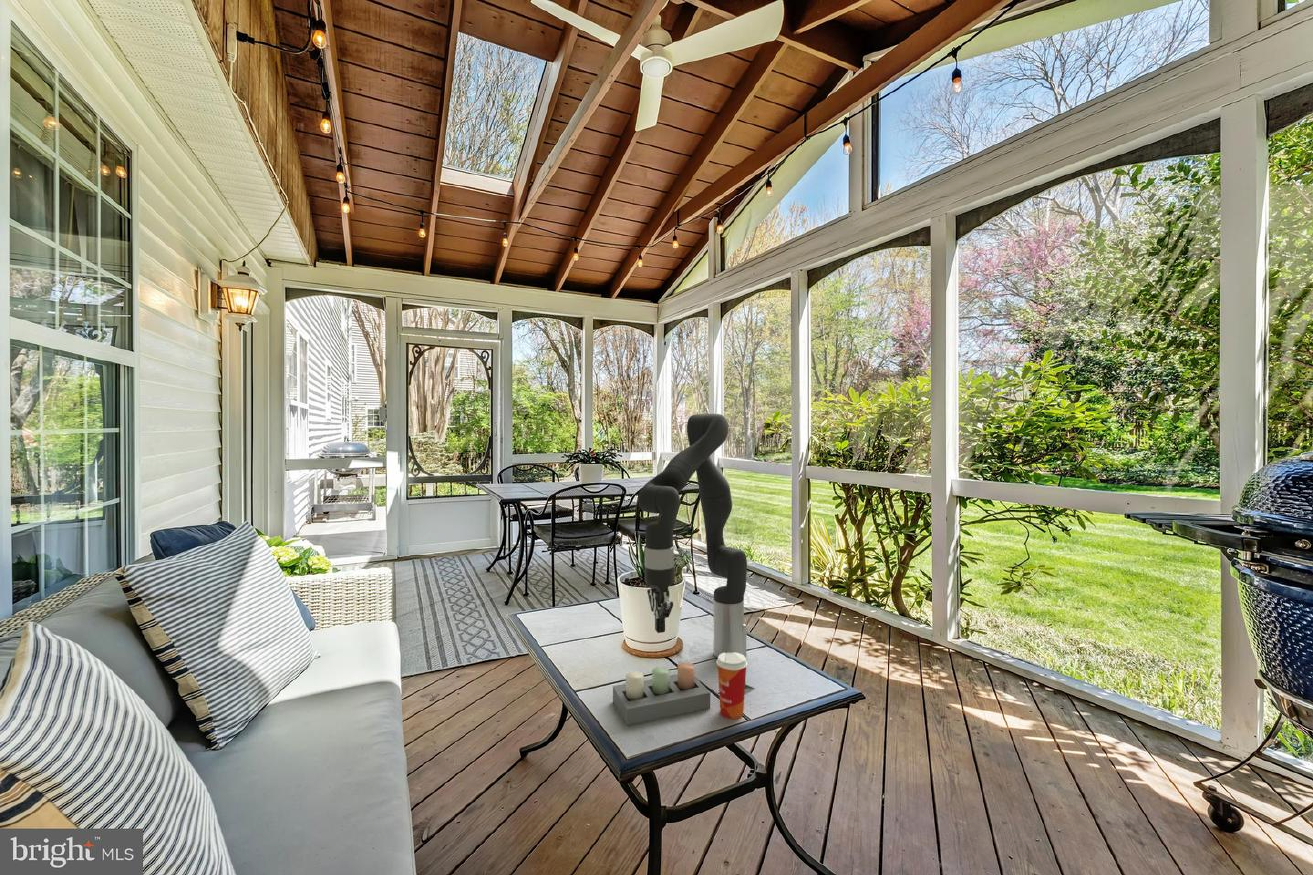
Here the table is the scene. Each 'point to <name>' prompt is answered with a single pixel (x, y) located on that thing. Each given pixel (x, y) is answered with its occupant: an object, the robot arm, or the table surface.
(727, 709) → the paper cup
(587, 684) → the table surface
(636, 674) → the cream button
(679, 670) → the terracotta button
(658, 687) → the sage button
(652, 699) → the button board
